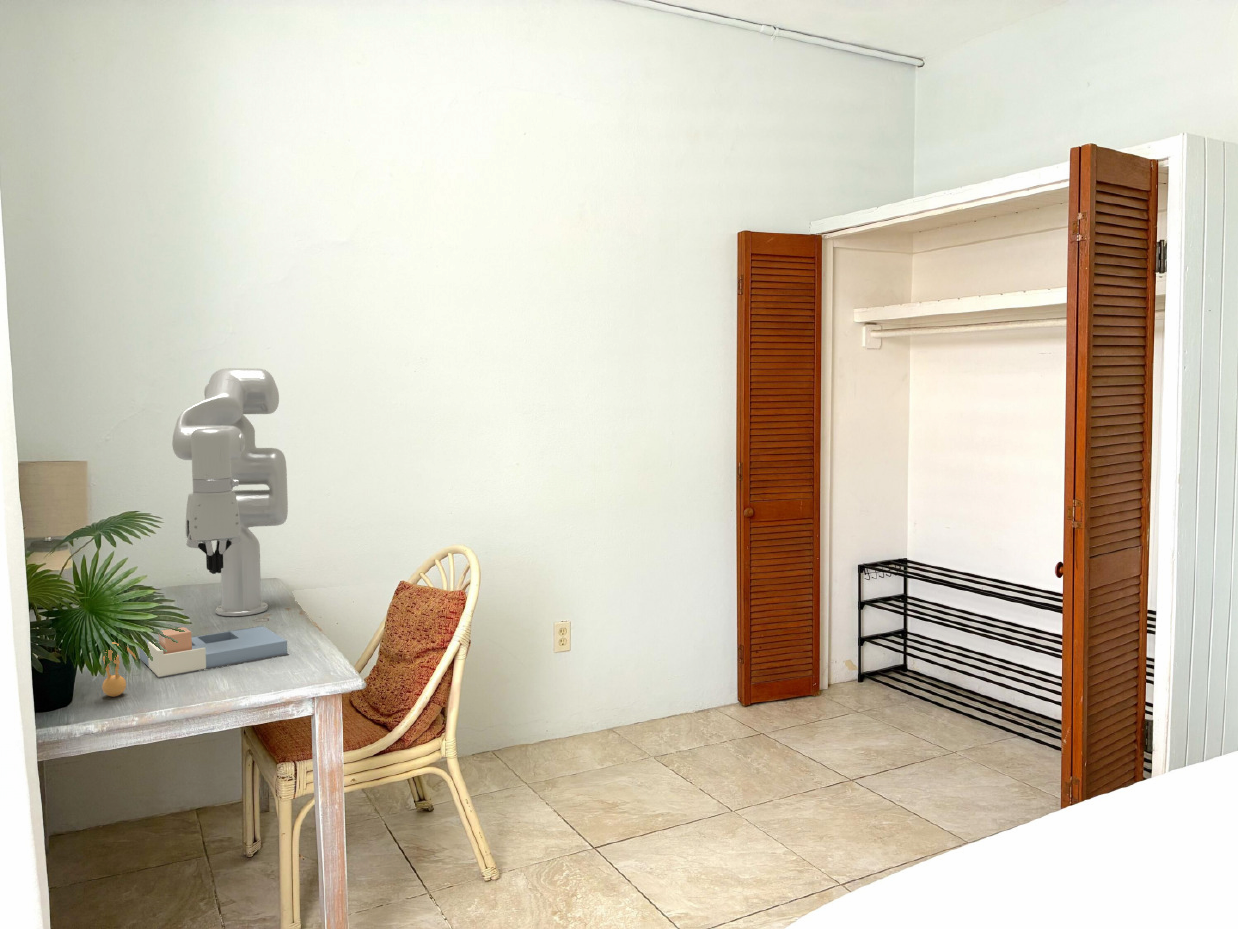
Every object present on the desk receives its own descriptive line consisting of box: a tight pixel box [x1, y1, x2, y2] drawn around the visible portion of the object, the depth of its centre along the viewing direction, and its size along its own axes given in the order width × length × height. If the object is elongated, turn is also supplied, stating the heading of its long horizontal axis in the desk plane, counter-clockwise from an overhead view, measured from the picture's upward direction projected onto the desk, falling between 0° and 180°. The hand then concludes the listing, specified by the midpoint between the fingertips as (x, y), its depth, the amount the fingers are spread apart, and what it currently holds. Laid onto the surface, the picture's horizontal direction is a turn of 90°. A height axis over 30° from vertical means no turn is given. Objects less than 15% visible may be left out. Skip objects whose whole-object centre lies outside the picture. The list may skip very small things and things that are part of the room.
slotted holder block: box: [138, 625, 290, 679], centre depth 199 cm, size 17×26×6 cm, turn 129°
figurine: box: [101, 641, 137, 697], centre depth 173 cm, size 8×6×12 cm
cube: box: [158, 627, 193, 654], centre depth 190 cm, size 5×5×5 cm
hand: (215, 572), depth 195 cm, fingers closed
